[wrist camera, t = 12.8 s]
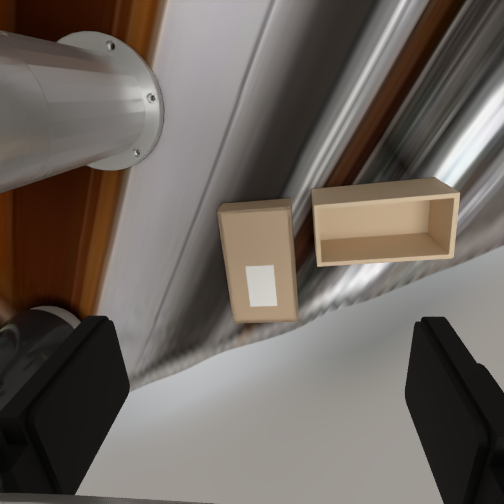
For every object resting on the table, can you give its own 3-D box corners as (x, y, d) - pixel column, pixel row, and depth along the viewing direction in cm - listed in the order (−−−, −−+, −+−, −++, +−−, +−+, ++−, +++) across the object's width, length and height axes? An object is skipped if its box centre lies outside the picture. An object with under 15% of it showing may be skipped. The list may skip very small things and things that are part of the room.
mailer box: (314, 242, 39) (317, 266, 34) (311, 189, 37) (313, 205, 31) (430, 234, 37) (453, 258, 32) (434, 177, 35) (460, 192, 30)
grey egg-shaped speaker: (111, 319, 47) (33, 413, 33) (83, 368, 51) (4, 470, 37) (40, 278, 45) (-72, 359, 32) (17, 332, 50) (-91, 424, 36)
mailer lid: (222, 203, 39) (216, 212, 36) (291, 198, 38) (290, 206, 35) (237, 308, 44) (233, 323, 41) (298, 307, 43) (298, 322, 40)
